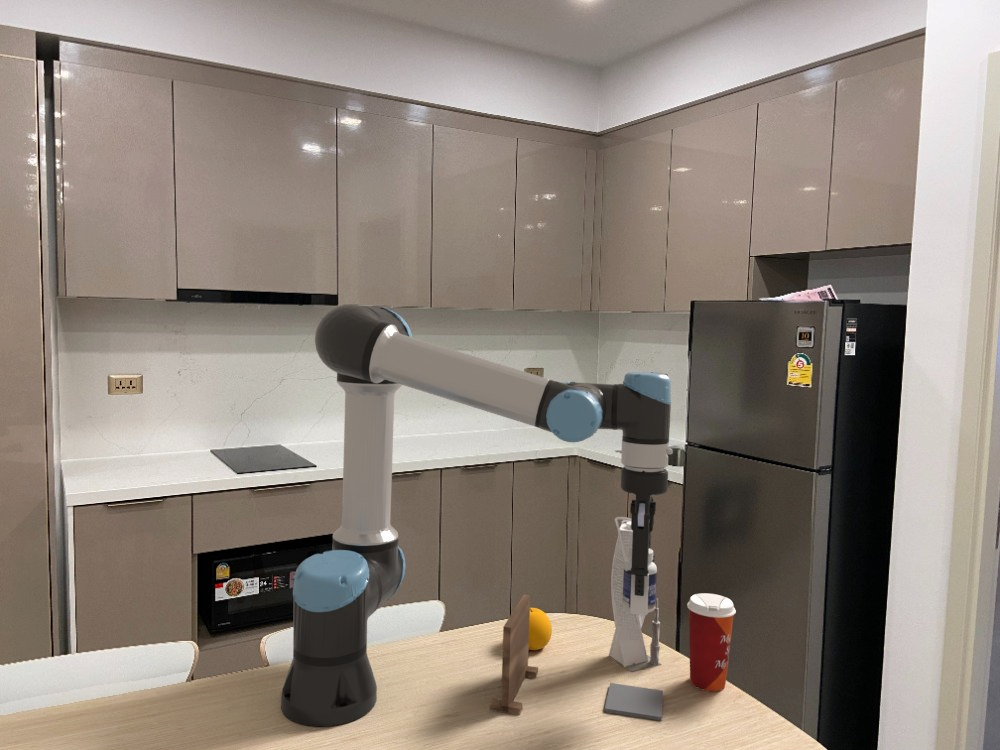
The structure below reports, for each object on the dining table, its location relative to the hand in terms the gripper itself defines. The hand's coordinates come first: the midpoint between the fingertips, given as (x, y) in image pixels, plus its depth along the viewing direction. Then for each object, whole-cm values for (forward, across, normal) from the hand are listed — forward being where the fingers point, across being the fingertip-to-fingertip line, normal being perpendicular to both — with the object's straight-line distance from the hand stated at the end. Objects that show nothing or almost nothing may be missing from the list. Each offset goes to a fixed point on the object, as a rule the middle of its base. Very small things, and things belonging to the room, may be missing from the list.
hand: (639, 606), depth 121 cm
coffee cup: (+17, +11, -12) cm, 23 cm away
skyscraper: (+17, +16, +2) cm, 23 cm away
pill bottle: (+1, 0, 0) cm, 1 cm away
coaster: (+17, 0, 0) cm, 17 cm away
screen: (+16, -2, +20) cm, 26 cm away
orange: (+17, +16, +21) cm, 31 cm away
